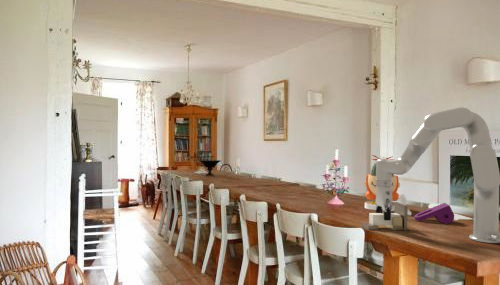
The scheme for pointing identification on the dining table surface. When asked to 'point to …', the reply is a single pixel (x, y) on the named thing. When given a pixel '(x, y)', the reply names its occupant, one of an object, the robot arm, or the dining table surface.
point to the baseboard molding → (461, 218)
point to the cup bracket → (399, 222)
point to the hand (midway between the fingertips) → (383, 218)
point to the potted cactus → (371, 188)
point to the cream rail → (381, 218)
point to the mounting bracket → (437, 213)
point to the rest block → (369, 226)
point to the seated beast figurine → (402, 201)
